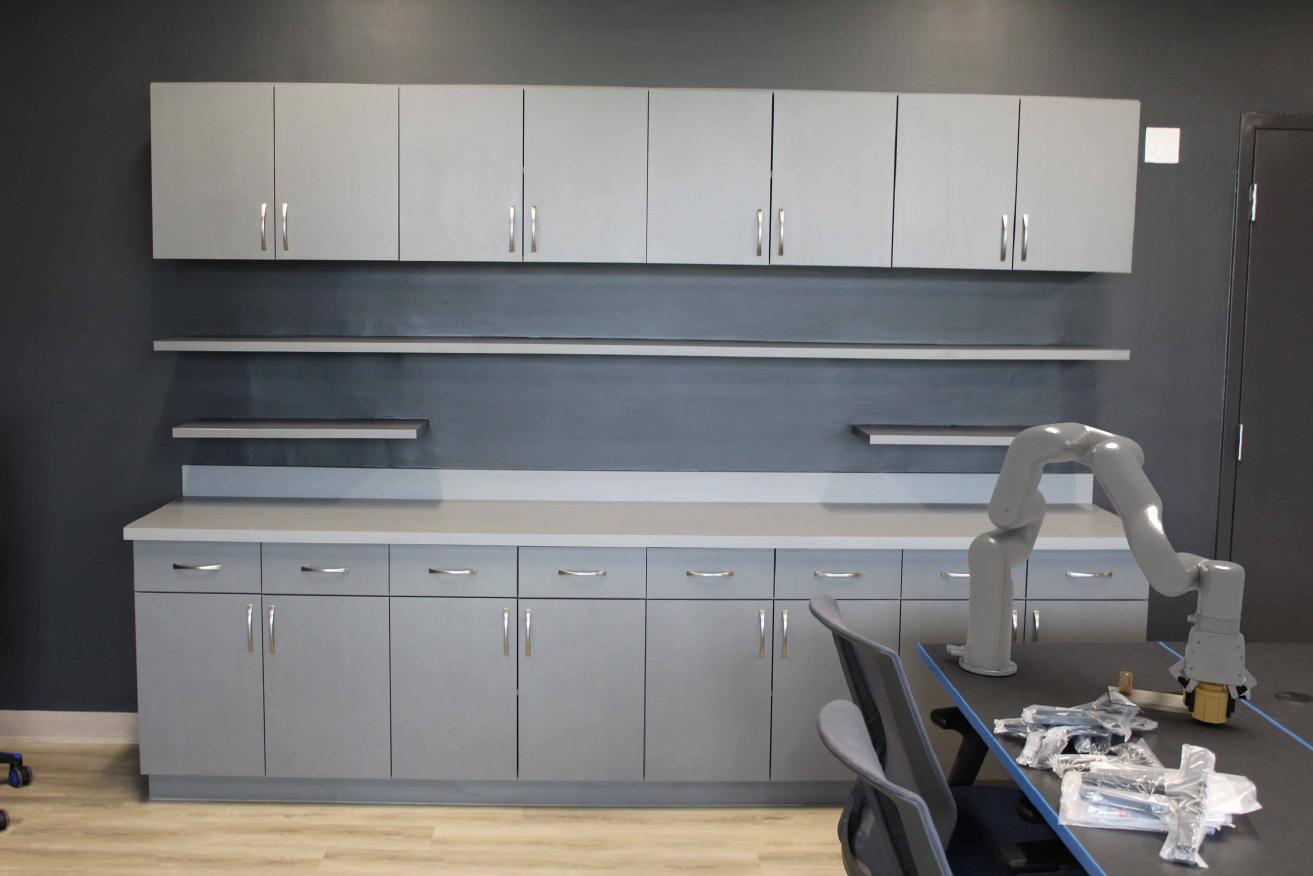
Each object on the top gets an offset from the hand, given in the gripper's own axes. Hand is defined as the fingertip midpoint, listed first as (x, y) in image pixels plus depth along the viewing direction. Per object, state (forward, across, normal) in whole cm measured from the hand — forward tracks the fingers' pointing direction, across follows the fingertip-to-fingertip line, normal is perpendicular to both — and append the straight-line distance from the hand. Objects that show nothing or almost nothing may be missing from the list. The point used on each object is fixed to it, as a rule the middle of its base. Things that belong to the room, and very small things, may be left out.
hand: (1208, 712), depth 197 cm
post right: (+1, -2, +8) cm, 8 cm away
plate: (+3, -8, +8) cm, 12 cm away
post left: (+1, -14, +8) cm, 16 cm away
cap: (+1, 0, 0) cm, 1 cm away
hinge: (+3, +8, +26) cm, 28 cm away
